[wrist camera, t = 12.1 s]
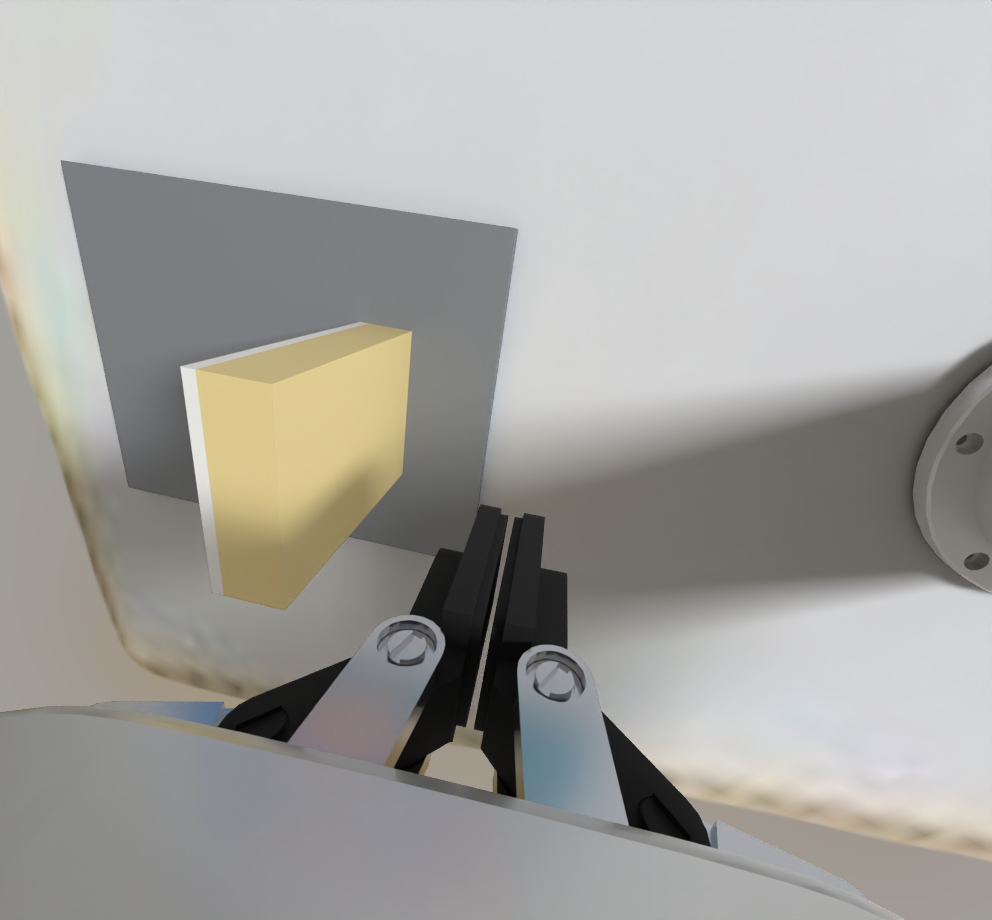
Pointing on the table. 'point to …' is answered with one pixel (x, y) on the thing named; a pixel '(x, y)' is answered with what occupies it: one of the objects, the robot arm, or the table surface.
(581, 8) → the table surface
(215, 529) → the tile
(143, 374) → the mat
